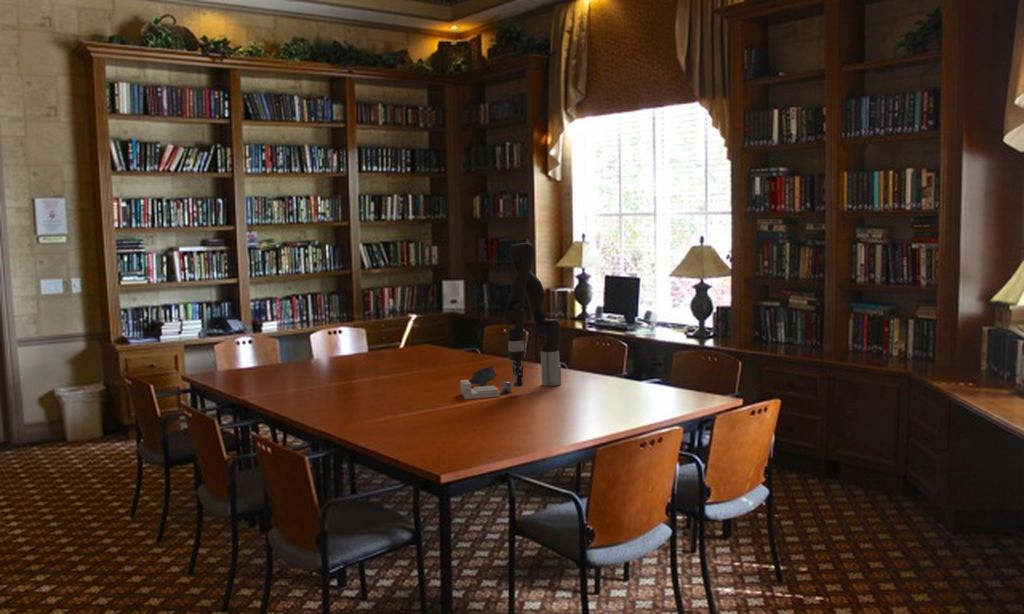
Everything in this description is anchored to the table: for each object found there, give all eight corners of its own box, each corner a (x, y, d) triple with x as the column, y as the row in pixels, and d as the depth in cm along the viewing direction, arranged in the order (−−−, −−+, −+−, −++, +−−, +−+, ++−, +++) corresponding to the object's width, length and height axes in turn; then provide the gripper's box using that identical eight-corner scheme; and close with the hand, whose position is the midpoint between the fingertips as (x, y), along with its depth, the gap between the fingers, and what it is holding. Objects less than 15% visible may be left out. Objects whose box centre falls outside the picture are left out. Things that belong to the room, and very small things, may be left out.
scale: (495, 391, 443) (494, 376, 442) (500, 396, 430) (499, 381, 429) (460, 394, 439) (460, 379, 438) (464, 399, 427) (464, 384, 426)
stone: (473, 388, 453) (472, 368, 452) (468, 386, 458) (467, 367, 457) (497, 385, 459) (497, 365, 458) (492, 383, 464) (492, 364, 463)
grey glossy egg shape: (521, 384, 437) (521, 374, 436) (524, 386, 433) (523, 375, 432) (513, 385, 436) (512, 375, 435) (515, 387, 432) (514, 376, 431)
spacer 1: (510, 391, 442) (509, 381, 442) (512, 392, 438) (511, 382, 437) (501, 391, 441) (501, 381, 441) (503, 393, 437) (502, 383, 437)
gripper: (527, 351, 426) (529, 386, 428) (520, 346, 440) (522, 381, 442) (512, 352, 425) (514, 388, 427) (505, 348, 438) (507, 382, 440)
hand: (518, 384), depth 434 cm, fingers closed on grey glossy egg shape, 4 cm apart
